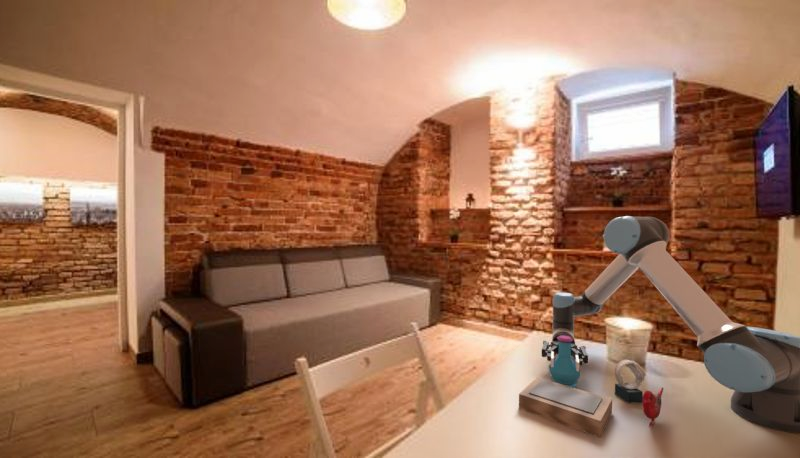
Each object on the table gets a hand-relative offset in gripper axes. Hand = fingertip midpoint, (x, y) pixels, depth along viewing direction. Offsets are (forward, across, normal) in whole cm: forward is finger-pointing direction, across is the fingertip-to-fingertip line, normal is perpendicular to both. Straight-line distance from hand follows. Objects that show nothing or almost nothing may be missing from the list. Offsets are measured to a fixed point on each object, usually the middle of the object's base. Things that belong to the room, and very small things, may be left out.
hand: (564, 364), depth 108 cm
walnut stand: (+13, 0, -8) cm, 15 cm away
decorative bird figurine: (+9, -21, -8) cm, 24 cm away
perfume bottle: (-5, 0, -8) cm, 10 cm away
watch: (-3, -17, -8) cm, 19 cm away
